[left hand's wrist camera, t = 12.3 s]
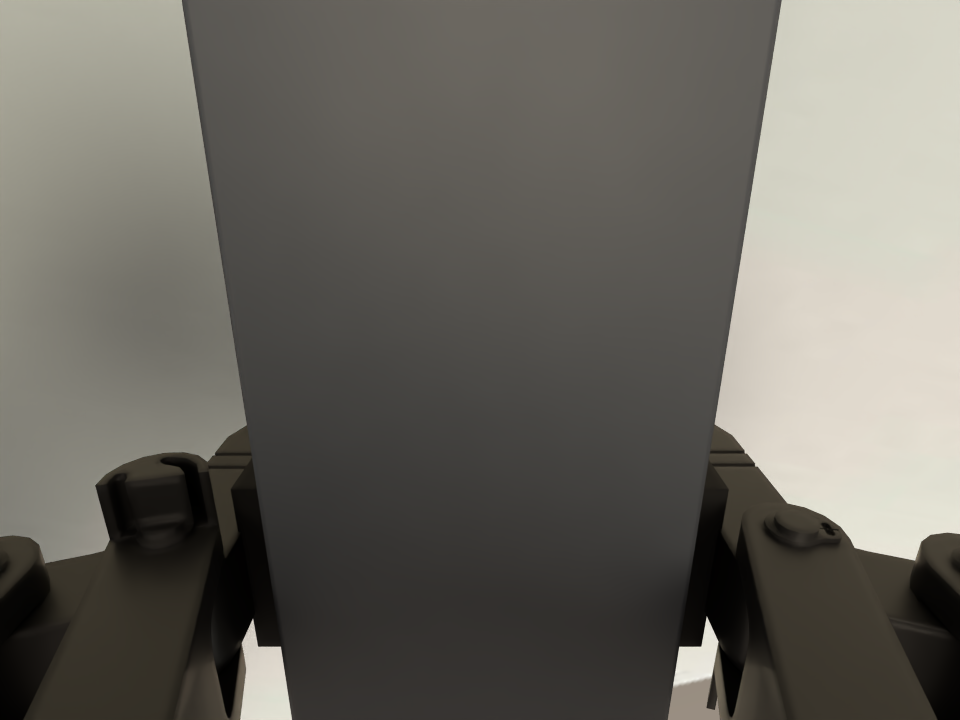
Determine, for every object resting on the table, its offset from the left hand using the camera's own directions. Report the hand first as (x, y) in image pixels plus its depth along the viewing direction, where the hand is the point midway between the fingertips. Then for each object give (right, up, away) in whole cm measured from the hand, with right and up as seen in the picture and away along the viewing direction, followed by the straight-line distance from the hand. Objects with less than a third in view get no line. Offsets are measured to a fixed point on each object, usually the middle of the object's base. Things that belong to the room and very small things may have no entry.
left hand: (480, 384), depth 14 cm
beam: (0, +32, -12) cm, 34 cm away
